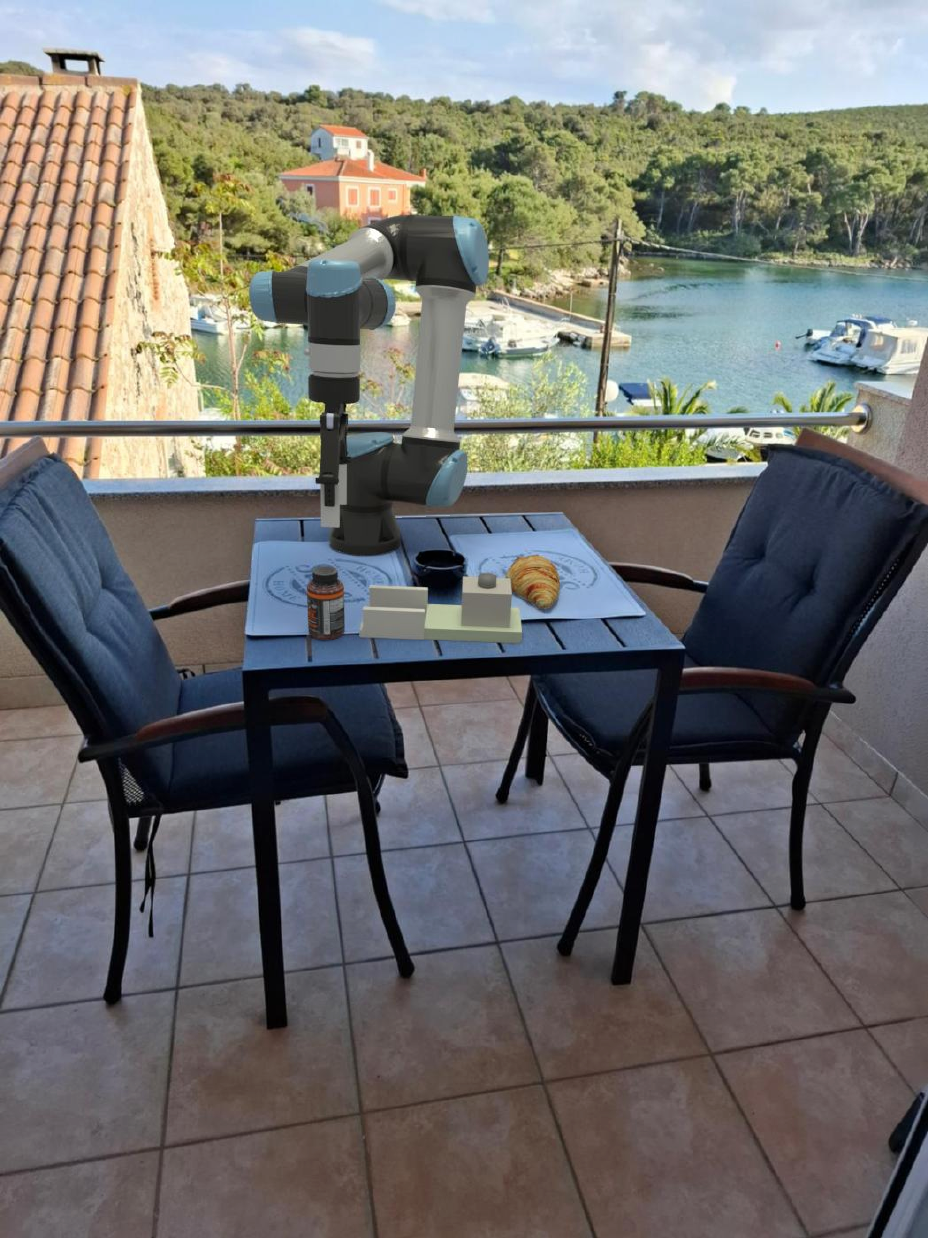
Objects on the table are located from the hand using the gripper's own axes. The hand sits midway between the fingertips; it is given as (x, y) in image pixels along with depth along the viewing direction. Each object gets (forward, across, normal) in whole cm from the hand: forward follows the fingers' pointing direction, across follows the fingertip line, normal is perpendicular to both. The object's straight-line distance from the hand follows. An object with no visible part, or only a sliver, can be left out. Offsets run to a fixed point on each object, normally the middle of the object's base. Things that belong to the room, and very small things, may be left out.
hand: (334, 514), depth 130 cm
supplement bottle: (+20, 0, -1) cm, 20 cm away
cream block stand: (+20, -3, +18) cm, 27 cm away
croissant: (+19, -20, +35) cm, 45 cm away
